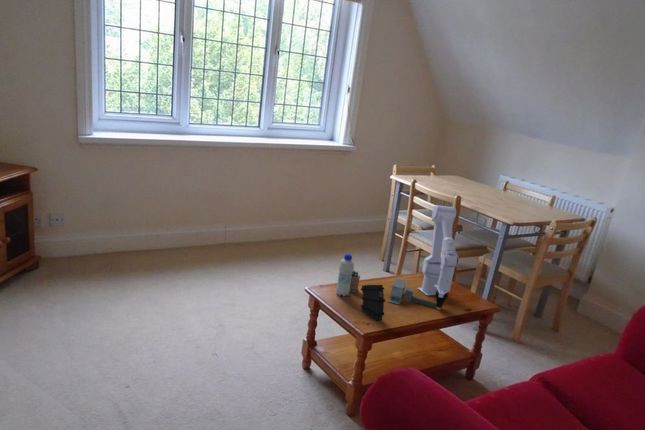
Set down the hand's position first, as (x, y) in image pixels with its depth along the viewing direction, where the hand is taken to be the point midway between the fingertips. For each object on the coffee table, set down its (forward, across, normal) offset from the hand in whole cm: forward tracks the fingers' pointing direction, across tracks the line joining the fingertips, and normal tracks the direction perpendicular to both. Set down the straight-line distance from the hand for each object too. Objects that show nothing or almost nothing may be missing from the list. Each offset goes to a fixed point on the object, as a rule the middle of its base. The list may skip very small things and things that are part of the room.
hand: (439, 305), depth 224 cm
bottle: (+2, +13, -43) cm, 45 cm away
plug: (+1, 0, -8) cm, 8 cm away
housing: (+1, 0, -20) cm, 20 cm away
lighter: (+2, +6, -42) cm, 42 cm away
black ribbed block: (+2, +24, -27) cm, 36 cm away
